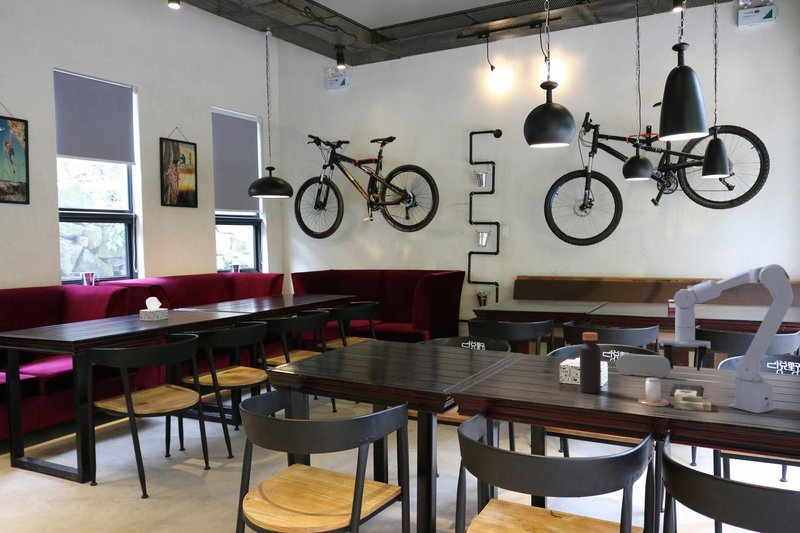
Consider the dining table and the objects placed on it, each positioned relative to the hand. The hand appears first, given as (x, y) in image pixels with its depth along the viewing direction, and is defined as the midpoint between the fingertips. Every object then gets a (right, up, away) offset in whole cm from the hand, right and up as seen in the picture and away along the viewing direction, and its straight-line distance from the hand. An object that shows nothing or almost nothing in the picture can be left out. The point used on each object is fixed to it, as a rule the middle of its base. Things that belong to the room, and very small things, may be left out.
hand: (685, 369), depth 198 cm
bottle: (-26, -10, +14) cm, 31 cm away
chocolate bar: (+6, -10, +11) cm, 16 cm away
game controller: (+1, -9, +37) cm, 38 cm away
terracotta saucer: (-11, -10, -3) cm, 15 cm away
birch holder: (-1, -10, -7) cm, 12 cm away
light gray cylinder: (-11, -10, -3) cm, 15 cm away
